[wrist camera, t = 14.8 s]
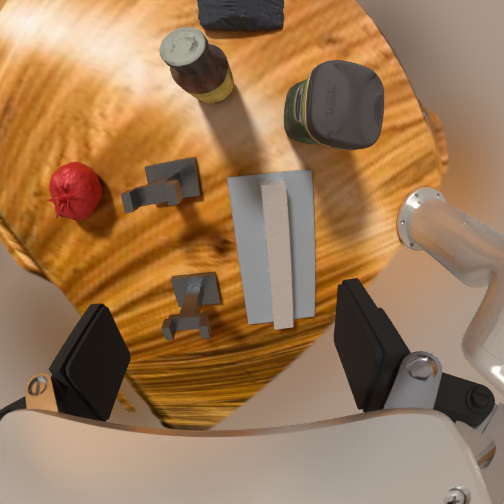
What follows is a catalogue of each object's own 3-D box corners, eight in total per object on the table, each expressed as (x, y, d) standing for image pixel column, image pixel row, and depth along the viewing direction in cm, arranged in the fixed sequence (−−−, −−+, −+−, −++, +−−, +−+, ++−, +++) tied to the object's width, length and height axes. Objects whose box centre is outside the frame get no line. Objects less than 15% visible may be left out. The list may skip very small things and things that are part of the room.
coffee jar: (330, 146, 40) (386, 161, 23) (280, 140, 39) (308, 146, 22) (335, 89, 36) (395, 68, 19) (286, 80, 35) (317, 46, 18)
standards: (195, 156, 40) (176, 167, 28) (220, 299, 51) (215, 346, 39) (147, 166, 40) (114, 180, 29) (179, 303, 51) (166, 348, 40)
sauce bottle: (242, 84, 35) (242, 45, 17) (213, 112, 37) (187, 96, 19) (211, 58, 33) (187, 6, 15) (182, 86, 35) (135, 55, 17)
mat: (310, 169, 41) (311, 170, 40) (313, 313, 53) (314, 316, 52) (227, 177, 41) (227, 178, 41) (248, 321, 53) (248, 324, 53)
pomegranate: (87, 148, 38) (57, 154, 30) (117, 193, 42) (92, 207, 33) (55, 184, 40) (25, 196, 31) (83, 225, 43) (56, 244, 35)
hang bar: (282, 178, 41) (285, 183, 38) (290, 315, 52) (293, 327, 49) (259, 181, 41) (261, 185, 38) (272, 317, 52) (274, 329, 49)
